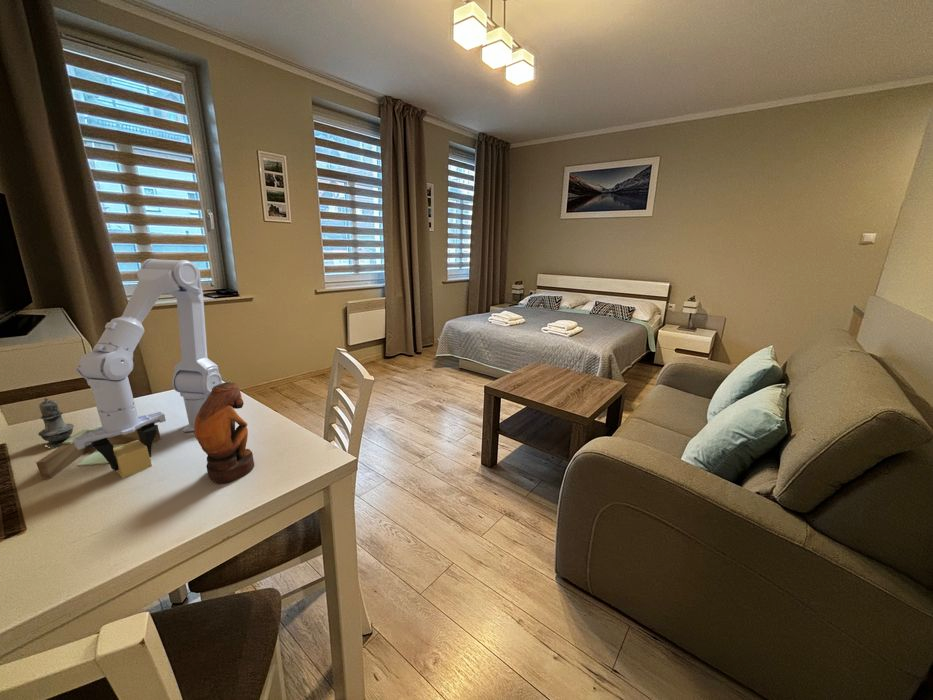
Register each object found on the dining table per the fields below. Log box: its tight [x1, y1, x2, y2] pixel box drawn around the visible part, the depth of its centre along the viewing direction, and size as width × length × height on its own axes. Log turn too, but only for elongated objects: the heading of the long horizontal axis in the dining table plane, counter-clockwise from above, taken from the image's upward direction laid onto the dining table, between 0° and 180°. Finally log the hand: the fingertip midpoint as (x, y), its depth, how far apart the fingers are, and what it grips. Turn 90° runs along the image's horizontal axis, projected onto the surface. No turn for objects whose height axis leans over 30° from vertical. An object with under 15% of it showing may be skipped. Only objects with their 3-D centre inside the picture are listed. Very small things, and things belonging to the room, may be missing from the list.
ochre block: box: [113, 440, 153, 478], centre depth 81 cm, size 5×5×5 cm
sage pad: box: [77, 444, 124, 467], centre depth 86 cm, size 8×8×1 cm
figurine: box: [193, 381, 255, 484], centre depth 79 cm, size 9×10×20 cm
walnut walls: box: [35, 424, 162, 480], centre depth 84 cm, size 15×14×4 cm
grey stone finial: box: [37, 397, 75, 449], centre depth 88 cm, size 6×6×12 cm
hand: (131, 462), depth 81 cm, fingers closed on ochre block, 5 cm apart
